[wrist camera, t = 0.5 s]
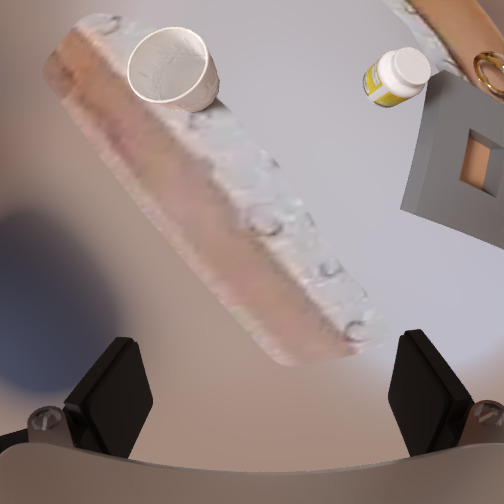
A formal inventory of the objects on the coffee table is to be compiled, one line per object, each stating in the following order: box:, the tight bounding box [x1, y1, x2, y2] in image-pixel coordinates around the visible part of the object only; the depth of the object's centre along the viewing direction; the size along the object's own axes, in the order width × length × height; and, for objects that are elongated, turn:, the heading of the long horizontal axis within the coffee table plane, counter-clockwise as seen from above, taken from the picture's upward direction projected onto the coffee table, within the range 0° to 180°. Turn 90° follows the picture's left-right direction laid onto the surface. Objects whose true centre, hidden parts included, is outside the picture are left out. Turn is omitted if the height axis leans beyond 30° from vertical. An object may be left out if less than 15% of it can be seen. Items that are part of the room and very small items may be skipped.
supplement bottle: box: [362, 47, 431, 108], centre depth 28 cm, size 5×5×10 cm
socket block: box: [400, 70, 504, 249], centre depth 32 cm, size 18×16×4 cm
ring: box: [473, 51, 504, 98], centre depth 27 cm, size 7×3×8 cm, turn 41°
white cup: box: [127, 27, 220, 113], centre depth 29 cm, size 8×8×10 cm
